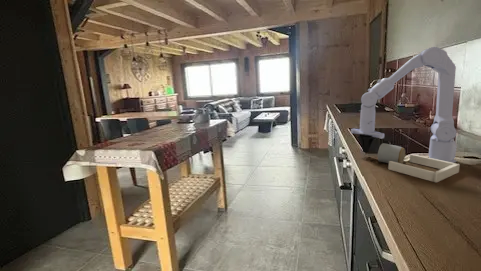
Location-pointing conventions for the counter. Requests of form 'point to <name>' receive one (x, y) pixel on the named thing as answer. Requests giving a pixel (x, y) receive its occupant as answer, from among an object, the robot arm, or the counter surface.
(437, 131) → the robot arm
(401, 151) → the ceramic mug
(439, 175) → the frame
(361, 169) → the counter surface
